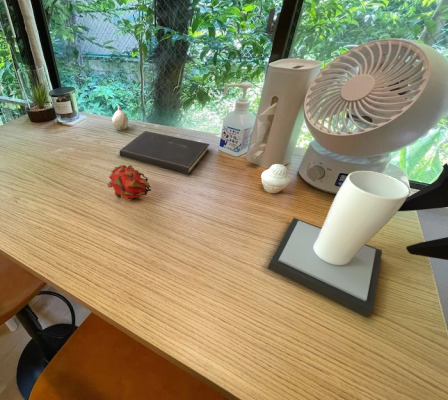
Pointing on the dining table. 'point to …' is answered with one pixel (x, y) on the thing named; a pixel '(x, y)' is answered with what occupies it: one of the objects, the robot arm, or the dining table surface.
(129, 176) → the dragon fruit
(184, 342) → the dining table surface
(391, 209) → the white cup
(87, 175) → the dining table surface
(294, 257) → the scale
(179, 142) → the hardcover book
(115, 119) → the garlic bulb
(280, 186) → the muffin
